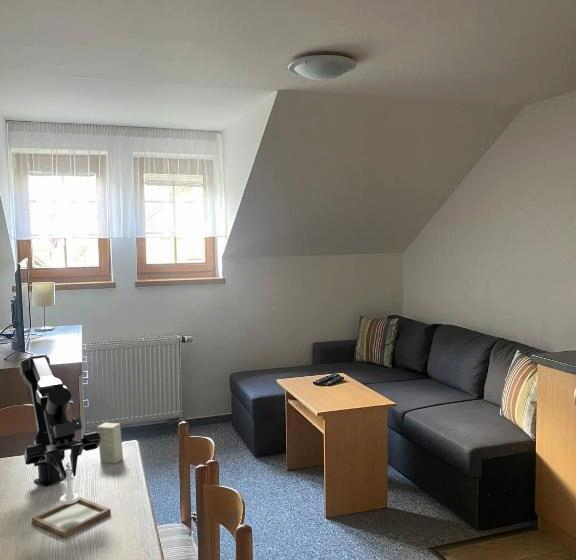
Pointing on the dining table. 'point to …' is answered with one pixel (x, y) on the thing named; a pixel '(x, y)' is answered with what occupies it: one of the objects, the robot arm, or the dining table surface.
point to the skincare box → (110, 442)
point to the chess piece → (69, 488)
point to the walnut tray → (71, 517)
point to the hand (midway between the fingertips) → (70, 476)
